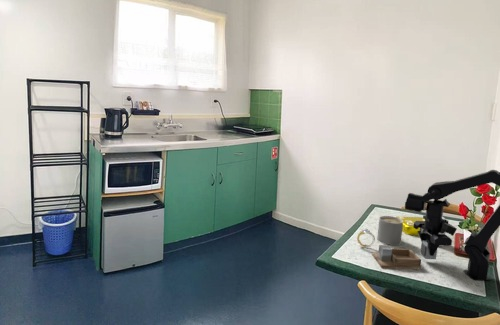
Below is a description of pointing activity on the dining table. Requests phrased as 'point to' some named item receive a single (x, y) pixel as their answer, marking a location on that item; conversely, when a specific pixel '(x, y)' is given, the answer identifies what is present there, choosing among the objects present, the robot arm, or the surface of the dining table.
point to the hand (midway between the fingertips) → (428, 253)
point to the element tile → (410, 225)
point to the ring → (364, 233)
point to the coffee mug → (390, 230)
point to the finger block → (426, 251)
